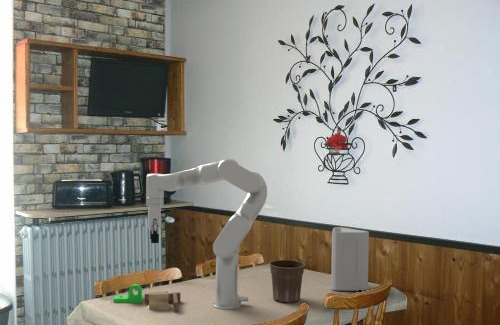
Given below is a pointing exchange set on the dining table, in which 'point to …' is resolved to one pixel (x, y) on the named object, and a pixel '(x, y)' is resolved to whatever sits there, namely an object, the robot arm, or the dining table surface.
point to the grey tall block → (349, 259)
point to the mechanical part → (131, 295)
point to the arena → (172, 298)
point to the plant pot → (286, 280)
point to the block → (158, 299)
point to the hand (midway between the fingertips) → (154, 241)
